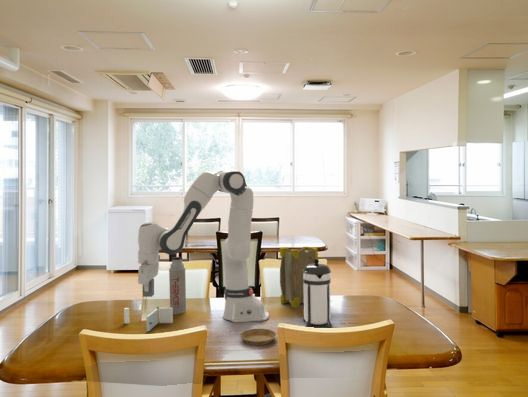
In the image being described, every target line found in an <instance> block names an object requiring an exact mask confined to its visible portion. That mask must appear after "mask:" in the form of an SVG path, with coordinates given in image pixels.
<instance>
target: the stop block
mask: <svg viewBox="0 0 528 397" xmlns="http://www.w3.org/2000/svg"><path fill="white" fill-rule="evenodd" d="M154 295H155V279H154V278H153V279H152V280H150V281H149V291H148V292H145V291H144V285H143V284H142V297H143V298H144V297H145V298H148V297H150V298H152V297H153V296H154Z"/></svg>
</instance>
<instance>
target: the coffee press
mask: <svg viewBox="0 0 528 397" xmlns="http://www.w3.org/2000/svg"><path fill="white" fill-rule="evenodd" d="M314 263H315V264H308V265H306V266H305V267H304V269H303V283H304V303H303V318H302V321H303V322H305V323H306V327H307V326H308V327H311V328H312V326H313V325H326V326H327V328H331V327H332V326H333V324H332V323H331V282H332V281H331V271H332V270H331V269H330V267H329V266H328V264H324V263H320V260H319V258H318V259H315V260H314Z"/></svg>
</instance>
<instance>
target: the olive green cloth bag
mask: <svg viewBox="0 0 528 397" xmlns="http://www.w3.org/2000/svg"><path fill="white" fill-rule="evenodd" d="M318 250H319V249H318V248H317V247H312V246H303V247H302V248H300V249H298V248H297V249H295V248H293V249H289V247H280V248H279V256H280V257H281V260H280V267H279V285H280V290H281V291H280V293H281V295H280V303H281V304H284V303H285V304H288V303H289V304H290V306H291V308H297V307H300V304H304V283H303V269H304V267H305V266H306V265H308V264H315V263H314V260H315V259H318V260H319V253H318V252H319V251H318Z"/></svg>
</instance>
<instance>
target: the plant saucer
mask: <svg viewBox="0 0 528 397" xmlns="http://www.w3.org/2000/svg"><path fill="white" fill-rule="evenodd" d="M276 336H277V333H276V332H275V331H274V330H271V329H266V328H251V329H248V330H244V331H242V332H241V333H240V336H239V337H240V338H241V339H242V341H244V342H245V343H246V344H248V345H250V346H251V345H252V346H263V345H268V344H270V343H271V342H272V341H273V340H274V339H275V338H276Z"/></svg>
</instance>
